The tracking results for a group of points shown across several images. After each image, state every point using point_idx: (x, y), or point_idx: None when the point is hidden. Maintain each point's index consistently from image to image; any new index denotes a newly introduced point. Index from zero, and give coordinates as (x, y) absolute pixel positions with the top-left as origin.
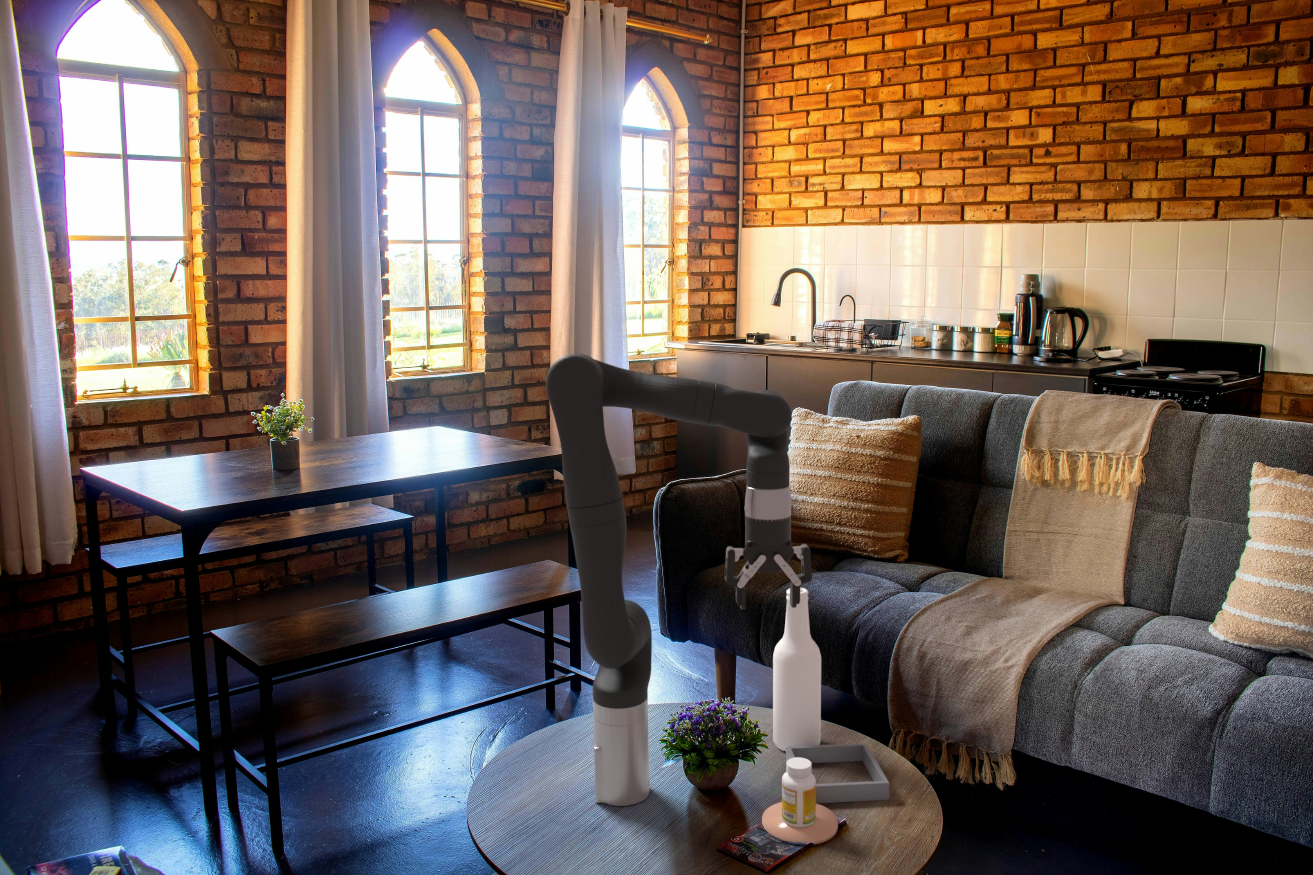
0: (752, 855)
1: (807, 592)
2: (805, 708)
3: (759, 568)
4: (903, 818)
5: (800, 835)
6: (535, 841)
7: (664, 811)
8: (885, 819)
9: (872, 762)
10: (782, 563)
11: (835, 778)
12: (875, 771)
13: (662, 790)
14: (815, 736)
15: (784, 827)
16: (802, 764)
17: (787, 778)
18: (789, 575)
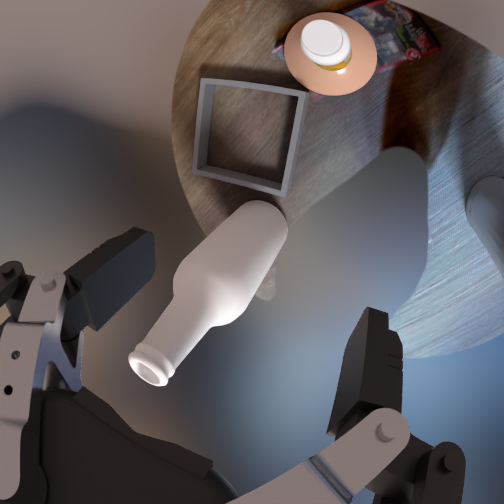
0: (405, 20)
1: (129, 356)
2: (238, 222)
3: (194, 500)
4: (212, 41)
5: (341, 23)
6: None
7: (470, 146)
8: (231, 42)
9: (200, 127)
10: (4, 410)
11: (249, 135)
12: (204, 114)
13: (454, 190)
14: (240, 207)
15: (354, 43)
16: (317, 30)
17: (344, 38)
18: (34, 322)
